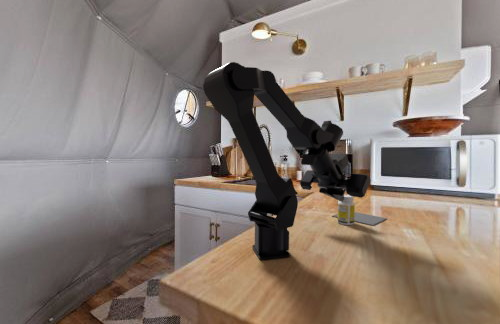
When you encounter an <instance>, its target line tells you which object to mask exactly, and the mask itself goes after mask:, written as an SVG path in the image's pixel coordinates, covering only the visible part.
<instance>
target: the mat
mask: <svg viewBox="0 0 500 324" xmlns="http://www.w3.org/2000/svg"><path fill="white" fill-rule="evenodd" d="M331 217H333V218H336V219H338V213H336V214H333V215H332V216H331ZM386 220H387V217H382V216H378V215H377V216H376V215H373V214H367V213H361V212H357V211H355V220H354V223H358V224H363V225H368V226H371V227H373V226H375V225H377V224H381V223H382V222H384V221H386Z"/></svg>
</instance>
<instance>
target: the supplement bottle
mask: <svg viewBox="0 0 500 324" xmlns="http://www.w3.org/2000/svg"><path fill="white" fill-rule="evenodd" d="M355 206H356V205H355V202H354V197H353V196H350V195H348V194H344V200H343V202H342V201H339V200H338V202H337V214H338V218H337V223H338V224H339V225H345V226H354V224H355V222H354V220H355V212H356V210H355V209H356V208H355Z"/></svg>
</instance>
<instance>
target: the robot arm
mask: <svg viewBox="0 0 500 324" xmlns="http://www.w3.org/2000/svg"><path fill="white" fill-rule="evenodd" d="M202 87H203V92H204V94H205V96H206V97H207V99H208V101H209V102H210V104H211V105H212V106H213V108H214V110H215V111H216V112H218V113H219V114H220V115H221V116H222V117H223V118H224V119H225V120H227V122H228V123H229V125H230V128H231V130H232V133H233V134H234V137H235V139H236V141H237V143H238V145H239V148H240V150H241V152H242V155H243V156H244V158H245V161H246V164H247V165H248V167H249V170H250V172H251V174H252V176H253V179H254V180H255V190H254V191H255V192H254V196H255V199H256V200H255V201H254V203H253V204H252V206H251V207H250V208H249V211H248V212H247V216H248V219H249V222H254V244H253V245H252V250H253V251H254V252H255V254H256V255H257V257H258V259H259V260H262V261H264V260H265V261H266V260H272V259H280V258H289V257H291V253H290V252H289V250H290V231H289V230H288V228H292V227H294V223H295V219H296V216H297V215H296V214H297V210H298V207H299V204H298V203H299V200H298V197H297V195H298V191H297V190H296V189H295V186H294V182H293V180H292V179H291V178H290V177H283V176H280V174H279V173H278V170H277V168H276V167H277V166H275V162H274V160H273V157H272V155H271V153H270V150H269V148H268V145H267V143H266V141H265V138H264V135H263V133H262V131H261V128H260V125H259V124H258V121H257V118H256V116H255V114H254V111H253V110H254V101H255V100H254V99H255V98H257V99H258V100H259V102H260V103H261V104H263V106H264V107H265V108H266V109H267V110H268V111H269V113H270V114H271V115H272V116H273V117H274V118H275V119H276V120H277V122H278V123H280V125H281V126H282V127H283V128H284V130H285V131H286V138H287V140H288V141H289V143H290V144H291V146H292V148H293V149H295V150H305V152H304V154H302V158H301V160H300V164H301V165H302V166H303V165H304V166H310V168H311V169H312V170H310V169H309V170H308V169H307V170H306V171H304V175H302V178H301V180H300V181H299V186H300V187H301V188H302V190H307V191H311V190H312V188H313V187H312V184H313V183H314V184H317V186H316V187H317V188H318V189H319V190H318V192H319V193H320V194H324V195H326V196H328V197H330V198H333V199H335V200H337V201H338V202H339V201H342V202H343V200H344V195H345V194H346V193H347V194H346V195H350V196H353V198H359V199H360V198H361V199H362V198H363V197H365V196H366V193H367V191H368V188H369V186H370V184H371V178H370V176H369V174H368V173H357V172H356V173H355V172H354V173H351V174H350V177H349V178H348V176H347V175H345V170H344V169H346V167H347V166H349V163H350V162H349V158H348V155H347V153H331V152H334V151H335V150H336V148H337V146H338V145H339V143H340V141H341V139H342V137H343V135H344V130H343V128H341V127H340V126H339V125H337V124H335V123H332V120H324V121H323V122H322V123H321V125H319V124H318V122H316V121H315V120H314V119H312V118H309V117H307V116H305V115H304V114H302V112H301V111H300V109H298V107H297V106H296V105H295V104H294V102H293V101H292V99H291V98H290V97H289V96H288V95H287V93H286V92H285V91H284V90H283V89H282V87H281V86H280V85H279V83H278V82H277V80H276V77H275V74H274V73H273V72H272V71H270V70H262V69H260V68H258V67H252V66H251V67H250V66H249V67H246V66H244V65H241V64H240V63H239V62H237V61H236V62H235V61H231V62H228V63H226V64H225V65H223V66H221V67H219V68H216V69H215V70H213V71H211V72H209V73H208V74H207V75H206V77H205V78H204V81H203V84H202ZM268 214H269V215H268ZM271 215H272V216H271ZM274 216H276V217H274Z"/></svg>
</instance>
